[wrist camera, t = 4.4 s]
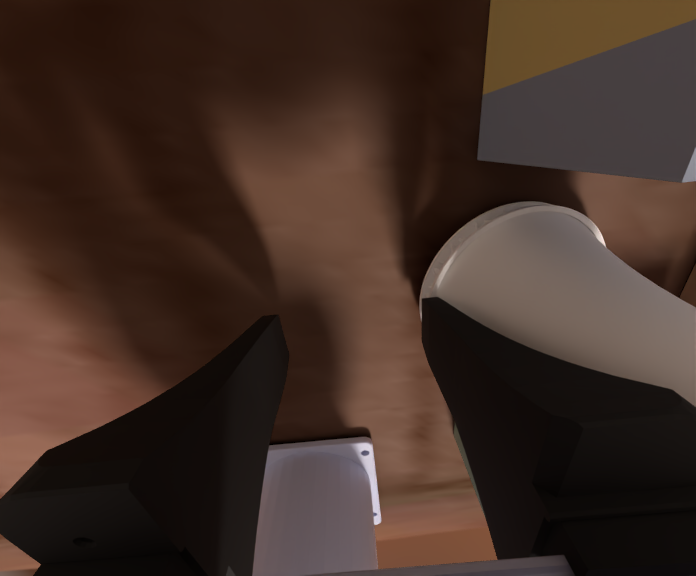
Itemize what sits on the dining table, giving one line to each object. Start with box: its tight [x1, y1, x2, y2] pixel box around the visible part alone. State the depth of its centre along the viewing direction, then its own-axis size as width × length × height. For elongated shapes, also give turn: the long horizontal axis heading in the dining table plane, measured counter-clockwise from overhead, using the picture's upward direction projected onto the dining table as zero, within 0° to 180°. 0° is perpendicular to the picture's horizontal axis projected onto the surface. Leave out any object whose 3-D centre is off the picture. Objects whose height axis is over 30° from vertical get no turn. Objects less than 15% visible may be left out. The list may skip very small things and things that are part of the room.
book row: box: [454, 0, 696, 518], centre depth 9 cm, size 22×12×7 cm, turn 6°
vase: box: [419, 201, 696, 407], centre depth 8 cm, size 8×8×10 cm
